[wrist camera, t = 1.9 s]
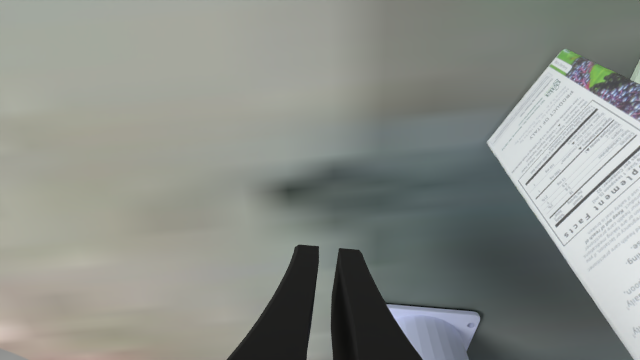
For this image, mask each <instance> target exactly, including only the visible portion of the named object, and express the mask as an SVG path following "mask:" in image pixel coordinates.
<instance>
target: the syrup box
mask: <svg viewBox="0 0 640 360" xmlns="http://www.w3.org/2000/svg"><path fill="white" fill-rule="evenodd" d="M487 145H488V146H489V147H490V149H491V151H492V152H493V153H494V155H495V156H496V158H497V159H498V161H499V162H500V163H501V165H502V167H503V168H504V170H505V172H506V173H507V174H508V176H509V177H510V179H511V180H512V182H513V183H514V185H515V186H516V188H517V189H518V191H519V192H520V193H521V195H522V196H523V198H524V199H525V200H526V202H527V203H528V205H529V207H530V208H531V210H532V211H533V213H534V214H535V215H536V217H537V218H538V220H539V221H540V223H541V224H542V225H543V227H544V228H545V230H546V231H547V233H548V234H549V236H550V237H551V239H552V240H553V242H554V243H555V245H556V246H557V248H558V249H559V251H560V252H561V254H562V255H563V257H564V258H565V260H566V261H567V263H568V264H569V266H570V267H571V268H572V270H573V271H574V273H575V274H576V276H577V277H578V279H579V280H580V282H581V283H582V285H583V286H584V288H585V289H586V291H587V292H588V294H589V295H590V296H591V298H592V299H593V300H594V302H595V304H596V305H597V307H598V308H599V310H600V311H601V312H602V314H603V315H604V317H605V318H606V320H607V321H608V323H609V324H610V326H611V327H612V329H613V330H614V331H615V333H616V334H617V336H618V337H619V339H620V340H621V341H622V343H623V344H624V346H625V347H626V349H627V350H628V352H629V353H630V355H631V356H632V358H633V359H634V360H640V84H638V83H636V82H634V81H632V80H630V79H628V78H626V77H624V76H622V75H619V74H617V73H615V72H613V71H611V70H609V69H607V68H604V67H602V66H600V65H598V64H596V63H594V62H592V61H590V60H588V59H586V58H584V57H582V56H580V55H578V54H576V53H573V52H571V51H569V50H567V49H564V50H562V51H561V52H560V53H559V54H558V55H557V57H556V58H555V59H554V60H553V61H552V63H551V64H550V65H549V66H548V67H547V69H546V70H545V71H544V72H543V73H542V75H541V76H540V77H539V78H538V80H537V81H536V82H535V83H534V84H533V86H532V87H531V88H530V89H529V91H528V92H527V93H526V94H525V95H524V97H523V98H522V99H521V100H520V102H519V103H518V104H517V105H516V106H515V108H514V109H513V110H512V111H511V113H510V114H509V115H508V116H507V118H506V119H505V120H504V121H503V123H502V124H501V125H500V126H499V128H498V129H497V130H496V131H495V133H494V134H493V135H492V136H491V137H490V139H489V140H488V141H487Z"/></svg>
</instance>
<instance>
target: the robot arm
mask: <svg viewBox="0 0 640 360" xmlns="http://www.w3.org/2000/svg"><path fill="white" fill-rule="evenodd" d="M318 264H319V246H309V245H298V246H296V247H295V249H294V253H293V256H292V259H291V262H290V264H289V267H288V269H287V271H286V273H285V275H284V277H283V279H282V281H281V283H280V285H279V286H278V288H277V290H276V292H275V294H274V295H273V297H272V299H271V300H270V302H269V303H268V305H267V307H266V308H265V310H264V311H263V313H262V314H261V316H260V317H259V319H258V320H257V322H256V323H255V325H254V326H253V327H252V329H251V330H250V331H249V333H248V334H247V335H246V337H245V338H244V339H243V341H242V342H241V343H240V344H239V346H238V347H237V348H236V349H235V350H234V352H233V353H232V354H231V355H230V356H229V358H228V359H227V360H306V359H307V348H308V341H309V335H310V329H311V321H312V313H313V305H314V297H315V289H316V280H317V272H318ZM479 322H480V317H479V314H478V313H477V312H473V311H462V310H450V309H438V308H427V307H415V306H403V305H391V304H386V303H385V301H384V299H383V298H382V296H381V294H380V292H379V290H378V288H377V286H376V284H375V282H374V280H373V278H372V276H371V274H370V272H369V270H368V268H367V265H366V263H365V260H364V258H363V255H362V253H361V252H360V251H359V250H354V249H343V248H339V252H338V259H337V265H336V272H335V278H334V285H333V291H332V304H331V336H332V349H333V360H469V358H468V355H467V352H466V351H467V349H468V347H469V344H470V342H471V340H472V338H473V335H474V333H475V331H476V329H477V326H478V324H479Z"/></svg>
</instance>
